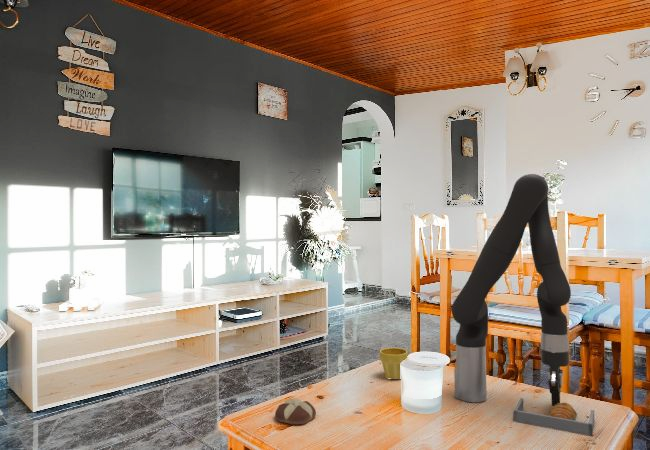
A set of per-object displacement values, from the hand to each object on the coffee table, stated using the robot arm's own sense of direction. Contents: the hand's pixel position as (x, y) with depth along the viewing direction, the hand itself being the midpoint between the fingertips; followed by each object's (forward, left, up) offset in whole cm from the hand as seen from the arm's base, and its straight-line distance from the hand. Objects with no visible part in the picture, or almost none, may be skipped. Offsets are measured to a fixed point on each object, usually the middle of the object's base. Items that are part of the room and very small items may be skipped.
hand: (555, 405), depth 145 cm
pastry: (+2, -5, -2) cm, 6 cm away
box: (0, -8, -2) cm, 8 cm away
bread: (-65, -43, -2) cm, 78 cm away
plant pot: (-55, +6, -2) cm, 55 cm away
